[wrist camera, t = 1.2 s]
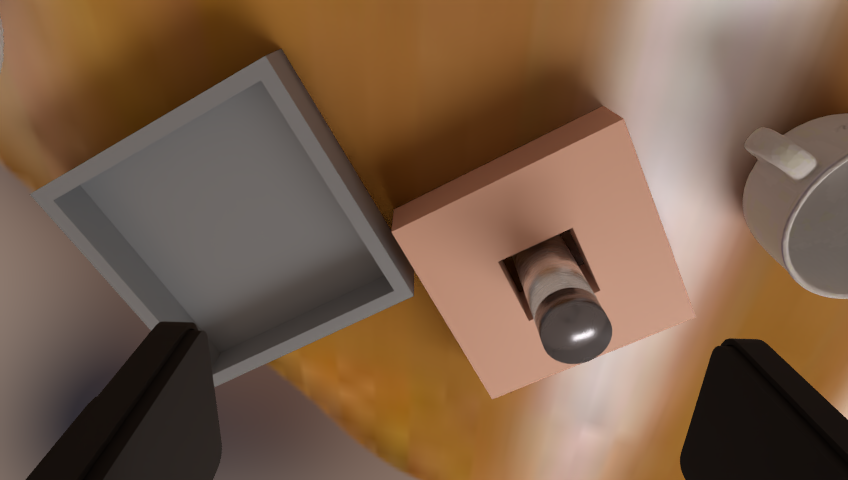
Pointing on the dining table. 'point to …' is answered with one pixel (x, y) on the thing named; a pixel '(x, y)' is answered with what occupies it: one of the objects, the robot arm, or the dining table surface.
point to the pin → (562, 303)
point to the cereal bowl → (1, 44)
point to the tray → (235, 221)
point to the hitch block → (533, 223)
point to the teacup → (802, 201)
